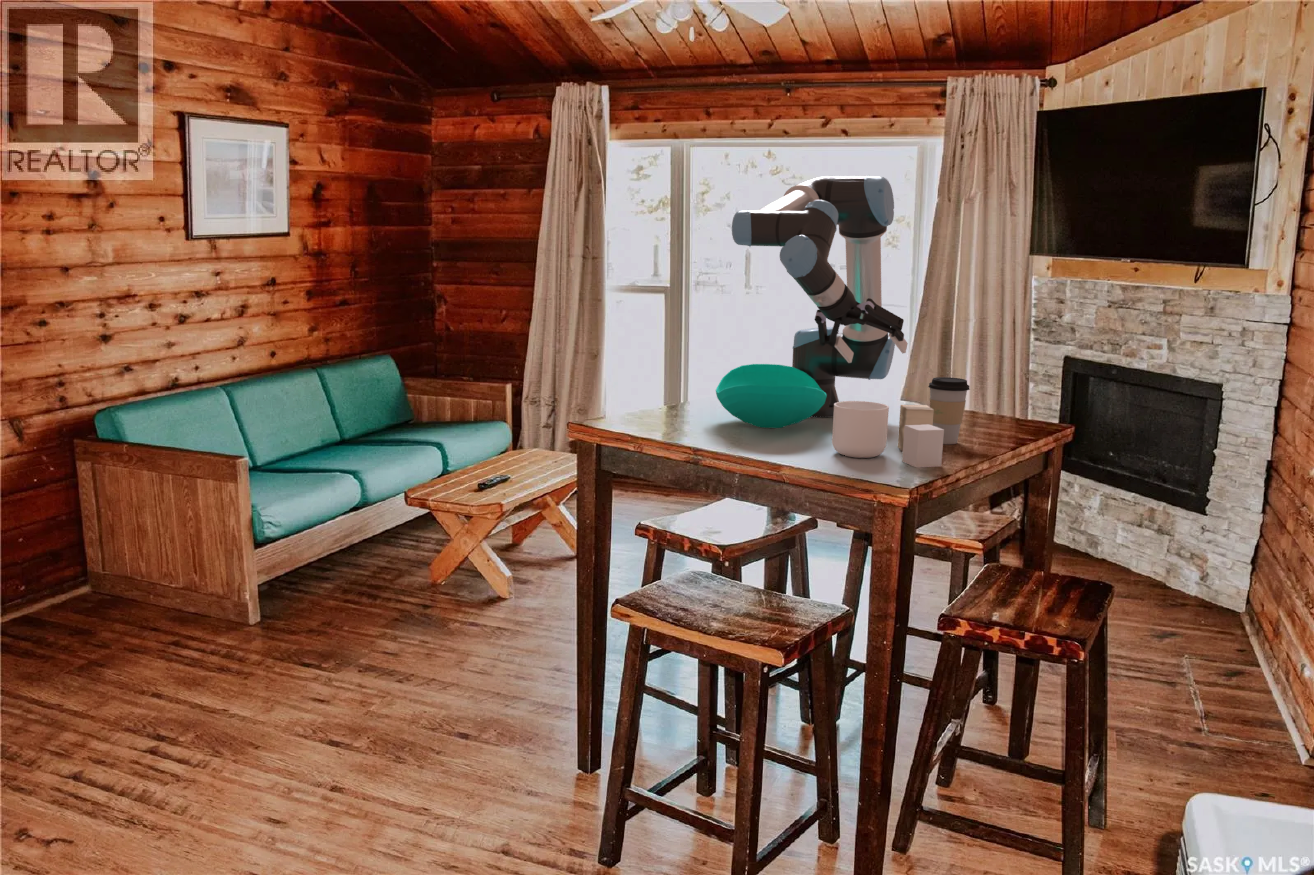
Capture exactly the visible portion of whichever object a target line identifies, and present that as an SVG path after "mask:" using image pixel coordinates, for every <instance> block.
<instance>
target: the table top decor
mask: <svg viewBox="0 0 1314 875" xmlns="http://www.w3.org/2000/svg"><path fill="white" fill-rule="evenodd" d="M715 394H716V398H717V400H718V401H719V403H720V404H721V406H722V407H723V409H725V410H726V411H728V413H730V414H731V416H733V417H734V418H736V419H738V420H740V421H742V422H744V423H747V424H749V425H752V426H753V427H754V426H755V427H757V428H765V429H766V428H767V429H783V428H785V427H787V426H791V425H794V424H799V422H803V421H804V420H807V419H809V418H812V417H811V416H812V415H813V414H815V413H816V412H817V411H819V409H820V408H821V407H822V406H823V405H824V403H825V400H826V397H827V395H826V393H825V392H824V391H823V390H822V389H821V388H820V387H819V385H818V384H817V383H816V381H815V380H814V379H813V378H811V377H810V376H809V375H808V374H806V373H805V372H803V371H801V370H799V369H796V368H794V367H792V366H791V365H789V366H788V365H783V364H775V363H752V364H744V365H740V366H737V367H735V368H733V369H731V370H730V371H728V372H727V373H726V374H724V376H723V377H722V378H721V380H720V381H719V383H718V385H717V387H716V389H715Z"/></svg>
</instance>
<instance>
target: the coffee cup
mask: <svg viewBox="0 0 1314 875" xmlns="http://www.w3.org/2000/svg"><path fill="white" fill-rule="evenodd" d="M928 384H929V385H928V388H929V393H930V394H929V407H930V408H932V409H934V414H933V426H935V427H938V428H941V429H944V437H943V445H955V444H958V440H959V435H960V429H961V425H962V423H963V418H964V417H963V416H964V412H965V407H966V399H967V398H966V397H967V391H969V390H971V389H970V385H969V384H968V380H967V379H965V378H960V377H950V376H948V377H947V376H945V377H944V376H943V377H942V376H941V377H940V376H938V377H936V376H935V377H933V378H932V379H931V382H929V383H928Z"/></svg>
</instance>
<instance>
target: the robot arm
mask: <svg viewBox="0 0 1314 875" xmlns="http://www.w3.org/2000/svg"><path fill="white" fill-rule="evenodd" d="M893 192H894V191H893V189H892V185H891V183H890V181H889V180H888V179H887V178H886V177H884V176H876V175H870V174H868V175H825V176H824V175H823V176H818V177H814V178H811V179H808V180H804V181H802V182H799V183H797V184H795V185H793V186H791V187H789V189H787V190H786V191H785V193H784V194H783V196H781V197H780V198H778V199H776V200H774V201H772V202H770V203H768V204H766V205H765V206H763V207H761V208H759V209H756V210H754V209H752V210H750V209H747V210H746V209H745V210H737V211H736V212H735V213H734V216H733V218H732V222H731V235H732V240H733V242H734V243H735V244H736V245H738V246H747V247H781V248H780V252H779V261H780V263H781V264H782V265H783V267H784V268H785V270H786V273H787V274H788V275H790V276H791V277H792V278H793V279H794V280H795V282H796V283H797V284H798V285H799V286H800V288H801V289H803V291H804V292H805V293H806V295H807V296H808V297H809V299H810V300H811V301H812V302H813V304H815V306H816V307H817V308H818V309H817V310H816V311H815V312H816V313H815V316H814V321H815V323H816V324H817V327H812V328H804V329H799V330H798V331H796V332H795V333H794V336H793V337H794V338H793V345H792V366H791V367H794V368H796V369H799V370H801V371H803V372H805V373H806V374H808V375H809V376H810V377H811V378H813V379H814V380H815V381H816V383H817V384H818V385H819V387H820V388H821V389H822V390H823V391H824V392H825V393H826V395H827V397H826V400H825V403H824V405H823V406H822V407H821V408H820V409H819V411H817V412H816V413H815V414H813V415H812V416H811V417H810V418H833V416H834V404H835V403H837V402H840V400H839V397H838V392H837V390H836V377H840V378H841V377H842V378H851V379H852V378H853V379H864V380H865V379H866V380H868V381H869V380H870V381H871V380H883V379H885V378H886V377H887V376H888V374H889V372H890V369H891V366H892V363H893V357H894V353H895V346H896V347H897V349H898V350H899V351H900V352H901V353H902V354H906V353H907V349H908V344H909V343H908V341H907V340H906V339H905V333H904V332H903V331H902V330H903V326H904V319H903V318H901V317H900V316H898V315H896V314H894V313H893V312H891V311H889V310H888V309H886V308H884V307H882V253H881V252H882V240H881V238H882V236H883V235H884V234H886V232H887V230H888V229H887V228H888V226H891V225H892V223H893V221H894V216H895V212H894V211H895V210H894V209H895V199H894V193H893ZM837 226H838V228H837ZM837 230H838V234H839V235H840V236H841V237H842V238H844V240H845V266H846V267H845V268H846V284H845V282H844V280H843V279H842V278H841V277H840V276H839V274H838V272H837V271H836V270H835V269H834V268H833V267H832V265H831V264H830V263H829V261H828V260H829V255H830V251H831V248H832V244H833V241H834V238H835V235H836V232H837ZM827 320H828V321H832V322H834V323H833V326H827ZM841 326H844V327H843V329H842V332H839V331H840V330H839V329H840V327H841Z"/></svg>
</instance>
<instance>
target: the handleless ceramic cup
mask: <svg viewBox="0 0 1314 875" xmlns="http://www.w3.org/2000/svg"><path fill="white" fill-rule="evenodd" d="M889 409H890V406H889V405H886V404H884V403H881V402H874V401H873V402H872V401H862V400H861V401H860V400H846V401H839V402H837V403H835V404H834V416H833V417H832V418H833V420H832V421H833V422H832V438H831V443H832V447H833V449H834V450H835V451H836V452H837V453H838V454H840V455H842V456H844V455H845V457H848V458H855V459H856V458H858V459H868V458H874V457H878V456H879V455H881V454H882V453H883V452H884V451H885V449H886V447H887V437H888V427H889V426H888V424H889Z"/></svg>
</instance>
